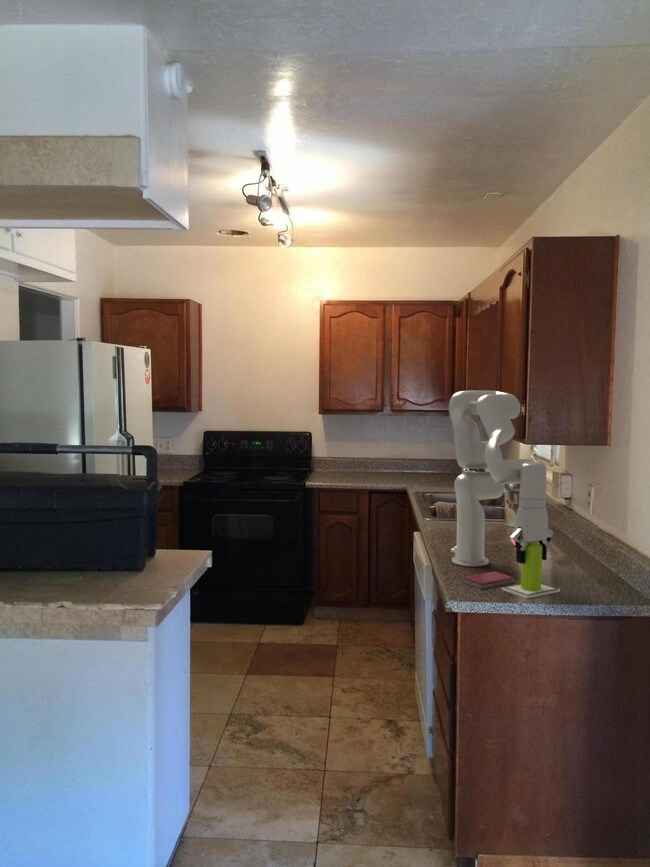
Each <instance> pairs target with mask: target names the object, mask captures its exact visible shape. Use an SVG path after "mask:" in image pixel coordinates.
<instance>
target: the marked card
mask: <svg viewBox="0 0 650 867" xmlns="http://www.w3.org/2000/svg"><path fill="white" fill-rule="evenodd" d="M501 590H502V591H503V592H507V593H510V594H512V595H515V596H518V597H521V598H523V599H526V600H527V599H531V598H537V597H540V596H546V595H550V594H556V593H561V588H559V587H556V586H552V585H549V584H545V583H543V582H541V590H537V591H531V590H525V589H522V588H521V582H519V583H513V584H508V585H503V586H501Z"/></svg>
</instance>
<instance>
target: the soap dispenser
mask: <svg viewBox="0 0 650 867" xmlns="http://www.w3.org/2000/svg"><path fill="white" fill-rule="evenodd" d="M524 550H525V551H526V560H525V564H522V563H520V564H521V566H520V568H521V569H520V583H521V588H522V589H525V590H531V591H537V590H541V583H542V568H543V566H542V562H543V560H542V545H540V544H539V543H538V541H536V542H529V543H527V544H526V546H525V549H524Z"/></svg>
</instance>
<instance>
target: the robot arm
mask: <svg viewBox="0 0 650 867" xmlns="http://www.w3.org/2000/svg"><path fill="white" fill-rule="evenodd" d="M448 404H449V405H448V412H449V417H450V421H451V424H452V428H453V432H454V444H455V445H454V446H455V456H456V462H457V465H458V466H459V467H460V468H462V469H469V470H471V469H484V471H482V472H481V471H476V472H475V471H473V472H472V471H471V472H464V473H461V474H459V475H458V476H457V477H456V478H455V480H454V492H455V499H456V545H455V546H454V547H452V548H451V549H450V551H451V553H454V556H453V557H452V558H451V562H452V563H453V564H455V565H458V566H464V567H471V568H472V567H484V566H488V565H489V563H490V562H489V559H488V558H487V557H485V530H486V529H485V524H486V521H485V520H486V515H485V509H484V508H483V505H482V504H481V503H480V500H494V499H499V498H501V497H502V496H503V494H505V487H506V486H505V485H513V484H514V485H515V484H517V485H518V484H519V489H520V508H518V509H517V513H516V519H515V527H513V533H512V534H511V535H510V536H509V539H510V541H511V543H512V544H511V545H512V546H513V547H514V549H515V551H516V552H515V554H516V555H515V557H516V558H515V562H517V564H519V563H520V564H521V563H522V564H525V560H526V551H525V550H524V549H525V546H526V544H527V543H529V542H536V541H538V544H540V545H542V561H547V558H548V557H547V555H548V554H547V553H548V547H549V544H550V542H551V539H552V537H553V535H554V531H553V530H552V529H550V528H549V516H548V510H547V507H546V506H547V501H548V500H547V473H548V472H547V470H548V469H547V466H546V464H545V463H543V462H539V461H534V460H532V459H528V458H519V459H518V458H513V459H512V458H511V459H510V458H509V459H503V454H502V450H501V447H500V446H502V445H503V444H505V443H508V442H509V441H510V440H511V439H512V438H513V437H514V435H515V432H516V430H515V427H514V425H513V423H512V421H511V420H514V419H516V418H517V417H519V415H520V412H521V403H520V401H519V399H518V398H517V397H516V396H515V395H514V394H512V393H508V392H503V391H499V390H498V391H497V390H477V389H475V390H474V389H473V390H472V389H471V390H470V389H469V390H462V391H460V390H459V391H457V392H455V393H453V395H452V396H451V398H450V400H449V403H448ZM471 416H479V419H480V421H481V423H482V425H483V427H484V430H485V432H486V434H487V437H488V440H481V438H480V430H479V426H478V424H477V423H476V421H475V420H474V419H473V418H472V417H471Z"/></svg>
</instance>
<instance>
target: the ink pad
mask: <svg viewBox="0 0 650 867" xmlns="http://www.w3.org/2000/svg"><path fill="white" fill-rule="evenodd" d="M461 583H462V584H465V585H468V586H470V587H474V588H476V589H479V590H485V589H490V588H495V587H496V588H497V587H503V586H508V585H514V584H516V579H515V578H513V576H510V575H507V574H504V573H501V572H498V571H489V572H483V573H479V574H472V575H466V576H463V577H462V578H461Z"/></svg>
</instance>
